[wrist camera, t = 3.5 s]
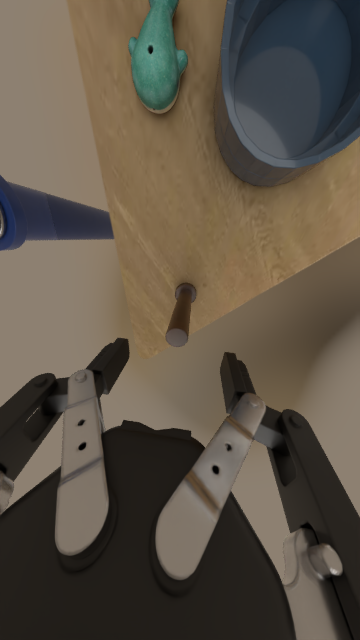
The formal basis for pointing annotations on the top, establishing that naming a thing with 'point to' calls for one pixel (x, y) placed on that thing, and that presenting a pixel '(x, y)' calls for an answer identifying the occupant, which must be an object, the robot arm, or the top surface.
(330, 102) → the bowl
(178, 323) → the brown wooden peg
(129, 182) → the top surface
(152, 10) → the whale figurine
